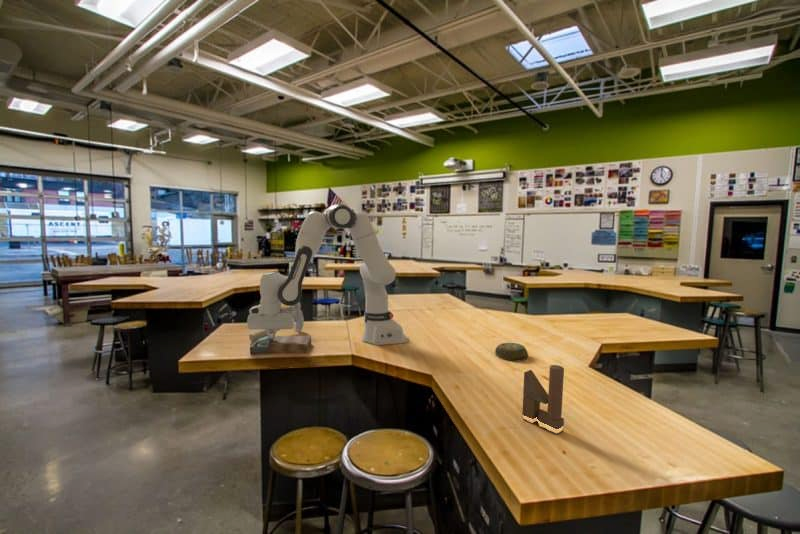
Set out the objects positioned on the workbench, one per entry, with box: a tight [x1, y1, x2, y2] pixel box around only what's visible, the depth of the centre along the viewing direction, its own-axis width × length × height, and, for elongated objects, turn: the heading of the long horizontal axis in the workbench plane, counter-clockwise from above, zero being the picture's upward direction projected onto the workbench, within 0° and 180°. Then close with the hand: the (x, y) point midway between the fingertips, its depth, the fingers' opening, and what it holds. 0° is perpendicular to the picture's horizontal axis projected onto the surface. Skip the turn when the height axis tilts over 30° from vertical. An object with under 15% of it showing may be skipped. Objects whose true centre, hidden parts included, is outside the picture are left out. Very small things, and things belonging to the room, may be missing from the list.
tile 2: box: [258, 336, 270, 345], centre depth 168 cm, size 4×4×2 cm
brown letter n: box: [521, 364, 565, 429], centre depth 104 cm, size 4×11×18 cm, turn 39°
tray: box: [249, 338, 273, 355], centre depth 168 cm, size 8×13×3 cm, turn 5°
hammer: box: [248, 301, 305, 344], centre depth 187 cm, size 16×5×30 cm
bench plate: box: [268, 335, 312, 355], centre depth 169 cm, size 16×13×4 cm
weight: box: [494, 342, 529, 361], centre depth 163 cm, size 14×13×5 cm
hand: (271, 338), depth 168 cm, fingers closed
